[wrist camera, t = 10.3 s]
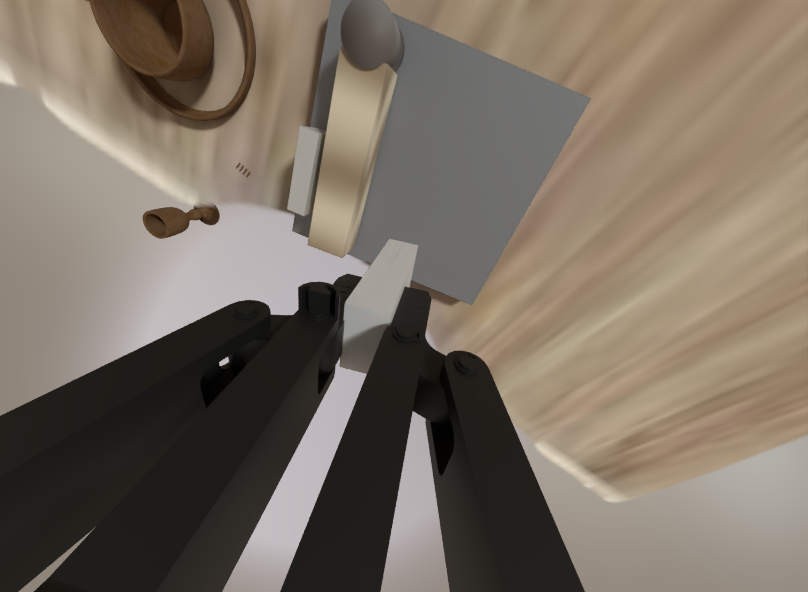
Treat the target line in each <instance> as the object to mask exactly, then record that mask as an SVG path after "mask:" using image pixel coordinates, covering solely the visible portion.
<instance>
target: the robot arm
mask: <svg viewBox="0 0 808 592" xmlns="http://www.w3.org/2000/svg"><path fill="white" fill-rule="evenodd" d="M417 249H418V245H415V244H410V243H406V242H402V241H397V240H393V239H389V240H388V242H387V243H386V244H385V246H384V247H383V249H382V250H381V252H380V253H379V255H378V256H377V257H376V259H375V260H374V262H373V263H372V265H371V266H370V267H369V269H368V270H367V272H366V273H365V275H364V276H363V277H359V276H355V275H351V274H346V275H343V276H341V277H339V278H338V279H337V280H336V281H335V282H334V284H333V285H332V284H329V283H325V282H310V283H306V284H303V285H301V286H300V287H298V294H299V295H298V296H299V297H298V298H299V310H298V311H297V312H296V313H295V314H294V315H271V313H270V308H269V306H268V305H266V304H265V303H263V302H260V301H254V300H245V301H238V302H236V303H233V304H230V305H228V306H226V307H224V308H222V309H220V310H218V311H216V312H214V313H211V314H210V315H207V316H205V317H203V318H201V319H199V320H197V321H195V322H193V323H191V324H189V325H187V326H185V327H183V328H180V329H178V330H176V331H174V332H172V333H170V334H168V335H166V336H164V337H162V338H160V339H158V340H156V341H154V342H152V343H150V344H147V345H146V346H143V347H141V348H139V349H137V350H135V351H133V352H131V353H129V354H127V355H125V356H123V357H121V358H119V359H117V360H115V361H113V362H110V363H108V364H106V365H104V366H102V367H100V368H98V369H96V370H94V371H92V372H90V373H88V374H86V375H84V376H82V377H79V378H78V379H75V380H73V381H71V382H69V383H67V384H65V385H63V386H61V387H59V388H57V389H55V390H53V391H51V392H49V393H47V394H45V395H43V396H41V397H38V398H36V399H34V400H32V401H30V402H28V403H26V404H24V405H22V406H20V407H18V408H16V409H14V410H11V411H9V412H7V413H6V414H3V415H1V416H0V592H18V591H20V590H21V589H22V588H23V587H24V586H25V585H27V584H28V583H29V582H30V581H31V580H33V579H34V578H35V577H36V576H37V575H39V574H40V573H41V572H42V571H43V570H45V569H46V568H47V567H48V566H49V565H51V564H52V563H53V562H54V561H55V560H56V559H58V558H59V557H60V556H61V555H63V553H65V552H66V551H67V550H68V549H70V548H71V547H72V546H73V545H74V544H76V543H77V542H78V541H79V540H80V539H82V538H83V537H84V536H85V535H86V534H88V533H89V532H90V531H91V530H92V529H94V528H95V529H94V530H93V531H92V532H91V533H90V534H89V535H88V536H87V537H86V538H85V539H84V541H82V542H81V544H80V545H79V546H78V547H77V548H76V549H75V550H74V551H73V552H72V553H71V554H70V555H69V556H68V558H67V559H66V560H65V561H64V562H63V563H62V564H61V565H60V566H59V567H58V568H57V569H56V570H55V572H54V573H53V574H52V575H51V576H50V577H49V578H48V579H47V580H46V581H45V582H44V583H43V584H42V585H40V586H39V587H38V588H37V589H36V590H35V591H34V592H222V591H223V589H224V587H225V585H226V583H227V581H228V579H229V577H230V575H231V573H232V571H233V569H234V568H235V566H236V564H237V562H238V560H239V558H240V556H241V554H242V552H243V550H244V548H245V547H246V545H247V543H248V541H249V539H250V537H251V535H252V533H253V531H254V529H255V527H256V525H257V524H258V522H259V520H260V518H261V516H262V514H263V512H264V510H265V508H266V506H267V504H268V502H269V501H270V499H271V497H272V495H273V493H274V491H275V489H276V487H277V485H278V483H279V481H280V479H281V478H282V476H283V474H284V472H285V470H286V468H287V466H288V464H289V462H290V460H291V458H292V457H293V455H294V453H295V451H296V449H297V447H298V445H299V443H300V441H301V439H302V437H303V435H304V434H305V432H306V430H307V428H308V426H309V424H310V422H311V420H312V418H313V416H314V414H315V413H316V411H317V408H318V407H319V405H320V403H321V401H322V399H323V397H324V395H325V393H326V391H327V390H328V388H329V386H330V384H331V382H332V380H333V378H334V374H335V365H336V363H337V361H338V360H339V358H340V367H343V368H346V369H351V370H354V371H358V372H362V373H366V374H367V375H366V378H365V380H364V383H363V385H362V388H361V391H360V393H359V396H358V398H357V401H356V403H355V405H354V408H353V410H352V413H351V415H350V418H349V420H348V423H347V426H346V428H345V431H344V433H343V436H342V438H341V441H340V443H339V446H338V448H337V451H336V453H335V456H334V458H333V461H332V463H331V466H330V468H329V471H328V473H327V476H326V478H325V481H324V483H323V486H322V488H321V491H320V493H319V496H318V498H317V501H316V503H315V506H314V508H313V511H312V513H311V516H310V518H309V521H308V523H307V526H306V528H305V531H304V533H303V536H302V539H301V541H300V543H299V546H298V548H297V551H296V553H295V556H294V558H293V561H292V563H291V566H290V569H289V571H288V573H287V576H286V579H285V581H284V584H283V586H282V589H281V591H280V592H380V591H381V585H382V580H383V573H384V568H385V562H386V557H387V552H388V546H389V540H390V535H391V528H392V524H393V518H394V512H395V507H396V501H397V496H398V490H399V483H400V479H401V473H402V467H403V462H404V456H405V451H406V445H407V439H408V434H409V428H410V423H411V417H412V411H414V412H416V413H417V414H419V415H421V416H422V417H424V418H426V429H427V436H428V442H429V450H430V456H431V463H432V470H433V477H434V484H435V491H436V498H437V505H438V512H439V518H440V526H441V533H442V540H443V547H444V553H445V561H446V567H447V575H448V582H449V588H450V592H585V591H584V589H583V586H582V584H581V582H580V579H579V577H578V575H577V573H576V570H575V568H574V565H573V563H572V561H571V558H570V556H569V554H568V551H567V549H566V547H565V545H564V542H563V540H562V538H561V535H560V533H559V531H558V528H557V526H556V524H555V522H554V519H553V517H552V514H551V512H550V510H549V508H548V505H547V503H546V500H545V498H544V496H543V493H542V491H541V489H540V487H539V484H538V482H537V479H536V477H535V475H534V472H533V470H532V468H531V466H530V463H529V461H528V459H527V456H526V454H525V452H524V449H523V447H522V445H521V442H520V440H519V438H518V435H517V433H516V431H515V428H514V426H513V424H512V421H511V419H510V417H509V414H508V412H507V410H506V407H505V405H504V403H503V401H502V398H501V396H500V394H499V391H498V389H497V387H496V384H495V382H494V380H493V377H492V375H491V373H490V370H489V368H488V366H487V365H486V363H485V362H484V361H483V360H482V359H480V358H479V357H478V356H476V355H474V354H472V353H470V352H466V351H453V352H451V353H448V355H447V356H445V355H443V354H441V353H440V352H438V351H436V350H435V349H433V348H432V347H431V346H430V345H429V344H428V342H427V340H426V338H425V332H426V327H427V321H428V316H429V310H430V304H431V297H430V295H429V293H428V292H426V291H422V290H418V289H414V288H409V287H410V283H411V278H412V273H413V268H414V263H415V259H416V254H417ZM226 357H228V358H229V363H227V364H225V365H223V366H219V362H220V361H221V360H223V359H225V358H226Z"/></svg>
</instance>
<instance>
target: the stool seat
mask: <svg viewBox="0 0 808 592" xmlns="http://www.w3.org/2000/svg"><path fill="white" fill-rule="evenodd" d="M351 1H352V0H331V5H330V11H329V17H328V23H327V29H326V35H325V41H324V47H323V53H322V59H321V65H320V70H319V76H318V82H317V88H316V94H315V100H314V106H313V112H312V118H311V124H310V127H307V126H300V129H299V135H298V142H297V148H296V155H295V161H294V168H293V174H292V181H291V187H290V194H289V200H288V207H287V209H288V210H290V211H292V212H295V218H294V224H293V230H292V231H293V232H296V233H298V234H301V235H303V236H306V237H308V238H309V233H310V227H311V221H312V215H313V209H314V203H315V197H316V191H317V185H318V179H319V173H320V167H321V161H322V155H323V149H324V143H325V137H326V131H327V124H328V118H329V112H330V106H331V100H332V94H333V88H334V82H335V76H336V70H337V64H338V58H339V52H340V46H341V47H343V44H342V40H341V21H342V17H343V14H344V12H345V10H346V8H347V6H348V5H349V4H350V2H351ZM392 15H393V17H394V19H395V21H396V23H397V25H398V27H399V29H400V31H401V33H402V35H403V39H404V45H405V51H404V57H403V61H402V63H401V65H400V67H399V69H398V70H397V71H396V72H395V73H396V74H397V79H396V83H395V87H394V91H393V95H392V99H391V103H390V107H389V111H388V115H387V119H386V123H385V127H384V131H383V135H382V139H381V142H380V146H379V150H378V154H377V158H376V162H375V166H374V170H373V174H372V178H371V182H370V186H369V190H368V194H367V198H366V202H365V206H364V210H363V214H362V218H361V222H360V226H359V230H358V234H357V238H356V242H355V246H354V247H353V248H352V249H351V250H350V251H349V252H348V253H347V254H349V255H351V256H354V257H356V258H359V259H361V260H364V261H366V262H368V263H371V264H372V263H373V262H374V260H375V259H376V257H377V256H378V255H379V253H380V252H381V250H382V249H383V247H384V246H385V244H386V243H387V242H388V240H389V239H393V240H397V241H402V242H406V243H410V244H415V245H418V249H417V254H416V259H415V263H414V268H413V273H412V278H411V280H412V281H414V282H417V283H419V284H422V285H424V286H426V287H429V288H431V289H434V290H436V291H439V292H441V293H443V294H446V295H448V296H451V297H453V298H456V299H458V300H460V301H463V302H465V303H468V304H470V305H473V303H474V301H475V299H476V298H477V296H478V294H479V292H480V291H481V289H482V287H483V285H484V284H485V282H486V280H487V278H488V277H489V275H490V273H491V271H492V270H493V268H494V266H495V265H496V263H497V261H498V259H499V258H500V256H501V254H502V252H503V251H504V249H505V247H506V245H507V244H508V242H509V240H510V238H511V237H512V235H513V233H514V231H515V230H516V228H517V226H518V225H519V223H520V221H521V219H522V218H523V216H524V214H525V212H526V211H527V209H528V207H529V205H530V204H531V202H532V200H533V198H534V197H535V195H536V193H537V191H538V190H539V188H540V186H541V184H542V183H543V181H544V179H545V178H546V176H547V174H548V172H549V171H550V169H551V167H552V165H553V164H554V162H555V160H556V158H557V157H558V155H559V153H560V151H561V150H562V148H563V146H564V144H565V143H566V141H567V139H568V138H569V136H570V134H571V132H572V131H573V129H574V127H575V125H576V124H577V122H578V120H579V118H580V117H581V115H582V113H583V111H584V110H585V108H586V106H587V104H588V103H589V101H590V99H591V98H589V97H587V96H584V95H582V94H580V93H577V92H575V91H573V90H571V89H568V88H566V87H564V86H561V85H559V84H557V83H554V82H552V81H550V80H547V79H545V78H543V77H540V76H538V75H536V74H533V73H531V72H529V71H526V70H524V69H522V68H519V67H517V66H515V65H512V64H510V63H508V62H505V61H503V60H501V59H498V58H496V57H494V56H491V55H489V54H487V53H484V52H482V51H480V50H477V49H475V48H473V47H470V46H468V45H466V44H463V43H461V42H459V41H456V40H454V39H452V38H449V37H447V36H445V35H442V34H440V33H438V32H436V31H433V30H431V29H429V28H426V27H424V26H422V25H419V24H417V23H415V22H412V21H410V20H408V19H405V18H403V17H401V16H398V15H396V14H394V13H392Z"/></svg>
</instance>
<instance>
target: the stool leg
mask: <svg viewBox="0 0 808 592" xmlns="http://www.w3.org/2000/svg"><path fill="white" fill-rule="evenodd" d="M341 40H342V44H343V47H341V46H340V52H339V58H338V64H337V70H336V76H335V82H334V88H333V94H332V100H331V106H330V112H329V118H328V124H327V131H326V137H325V143H324V149H323V155H322V161H321V167H320V173H319V179H318V185H317V191H316V197H315V203H314V209H313V215H312V221H311V227H310V233H309V239H308V245H309V246H312V247H315V248H318V249H320V250H322V251H325V252H328V253H330V254H333V255H336V256H339V257H341V258H343V257H344V256H345V255H346V254H347V253H348V252H349V251H350V250H351V249H352V248H353V247H354V246H355V242H356V238H357V234H358V230H359V226H360V222H361V218H362V214H363V210H364V206H365V202H366V198H367V194H368V190H369V186H370V182H371V178H372V174H373V170H374V166H375V162H376V158H377V154H378V150H379V146H380V142H381V139H382V135H383V131H384V127H385V123H386V119H387V115H388V111H389V107H390V103H391V99H392V95H393V91H394V87H395V83H396V79H397V74H396V73H395V72H396V71H397V70H398V69H399V67H400V65H401V63H402V61H403V57H404V51H405V45H404V39H403V35H402V33H401V31H400V29H399V27H398V25H397V23H396V21H395V19H394V17H393V15H392V13H391V11H390V9H389V8H388V6H387V5H386V4H385V2H383V1H382V0H352V1H351V2H350V4H349V5H348V6H347V8H346V10H345V12H344V14H343V17H342V21H341Z"/></svg>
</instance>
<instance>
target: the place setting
mask: <svg viewBox="0 0 808 592" xmlns="http://www.w3.org/2000/svg"><path fill="white" fill-rule="evenodd" d="M89 1H90V5H91V8H92V12H93V14H94V17H95V20H96V22H97V24H98V26H99V28H100V30H101V32H102V34H103V36H104V37H105V39H106V41H107V42H108V44H109V45H110V46H111V48H112V49H113V50H114V52H115V53H116V54H117V55H118V56H119V57H120V58H121V59H122V60H123V61H124V63H125V64H126V66H127V68H128V69H129V71H130V72H131V74H132V75H133V77H134V78H135V79H136V81H137V82H138V83H139V84H140V86H141V87H142V88H143V89H144V90H145V91H146V92H147V93H148V94H149V95H150V96H151V97H152V98H153V99H154V100H155V101H156V102H158V103H159V104H160V105H161V106H163V107H164V108H166V109H167V110H169V111H171V112H173V113H175V114H176V115H179V116H181V117H184V118H187V119H192V120H203V121H207V120H215V119H218V118H221V117H224V116H226V115H227V114H229V113H231V112H232V111H233V110H235V109H236V108H237V107H238V106H239V105H240V103H241V102H242V101H243V99H244V98H245V96H246V94H247V93H248V90H249V88H250V86H251V82H252V79H253V75H254V69H255V60H256V46H255V35H254V28H253V23H252V19H251V15H250V11H249V8H248V5H247V2H246V0H238V3H239V6H240V9H241V13H242V17H243V22H244V28H245V34H246V47H247V49H246V65H245V71H244V75H243V79H242V82H241V85H240V87H239V90H238V92H237V93H236V95H235V97H234V98H233V99H232V101H231V102H230V103H229V104H228V105H227V106H226V107H224V108H222V109H219V110H216V111H200V110H195V109H192V108H190V107H187V106H185V105H183V104H181V103H180V102H178V101H177V100H175V99H174V98H173V97H171V96H170V95H169V94H168V93H167V92H166V91H165V90H164V89H163V88H162V87H161V86H160V85H159V84H158V83H157V81H156V80H155V79H154V78H153V77H157V78H161V79H166V80H171V81H191V80H194V79H196V78H198V77H199V76H201V75H202V74H203V73H204V72H205V71H206V70H207V68H208V66H209V64H210V62H211V59H212V56H213V50H214V35H213V29H212V24H211V20H210V17H209V14H208V11H207V9H206V7H205V5H204V2H203V0H89ZM239 165H240V163H239V164H238V165H237V167H239ZM237 167H236V168H237ZM243 167H244V166H242V167H241V169H240V171H241V170H242V169H243ZM246 171H247V169H246V170H245V171H244V173H245V172H246ZM244 173H243V174H244ZM249 174H250V172H249V173H248V174H247V176H249ZM247 176H246V177H247ZM219 218H220V214H219V210H218V208H217V207H216V205H210V206H207V205H200V206H196V205H194V209H192V210H190V211H189V212H188V213H184V212H183V211H182V210H180V209H177V208H173V207H166V208H160V209H155V210H151V211H147V212H145V213H144V215H143V222H144V225H145V227H146V229H147V230H148V231H149V232H150V233H151V234H152V235H153V236H155V237H157V238H161V239H162V238H167V237H171V236H174V235H176V234H179V233H181V232H183V231H185V230H186V229H187V228H188V226H189V221H190V220H200V221H201V222H203V223H204V224H207V225H215V224H216V223H217V222H218V221H219Z"/></svg>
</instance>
